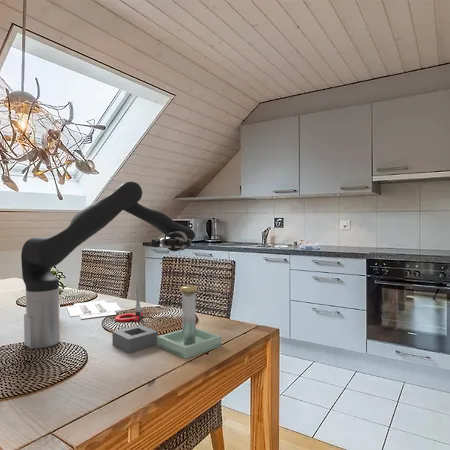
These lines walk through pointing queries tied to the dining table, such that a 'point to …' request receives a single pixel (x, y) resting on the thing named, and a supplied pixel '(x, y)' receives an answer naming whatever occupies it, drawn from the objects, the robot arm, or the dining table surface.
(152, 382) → the dining table surface
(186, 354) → the tray
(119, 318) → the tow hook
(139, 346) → the socket block
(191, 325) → the steel pin
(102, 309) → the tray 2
